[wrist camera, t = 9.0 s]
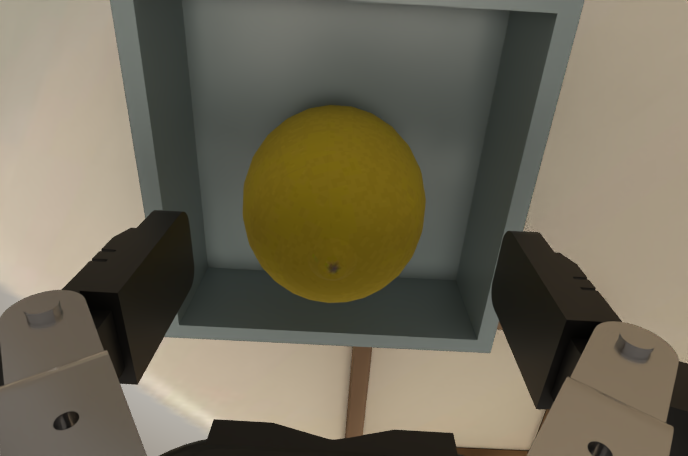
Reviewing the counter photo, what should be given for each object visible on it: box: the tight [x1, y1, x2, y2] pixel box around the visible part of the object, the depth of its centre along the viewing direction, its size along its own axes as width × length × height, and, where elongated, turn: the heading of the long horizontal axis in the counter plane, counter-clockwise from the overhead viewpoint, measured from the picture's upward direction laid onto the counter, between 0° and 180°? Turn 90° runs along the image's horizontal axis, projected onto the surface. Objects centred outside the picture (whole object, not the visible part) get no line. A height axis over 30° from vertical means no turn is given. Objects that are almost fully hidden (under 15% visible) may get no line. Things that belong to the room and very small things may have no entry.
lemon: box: [243, 105, 426, 303], centre depth 14 cm, size 6×6×8 cm
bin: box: [110, 0, 584, 353], centre depth 16 cm, size 12×12×4 cm
